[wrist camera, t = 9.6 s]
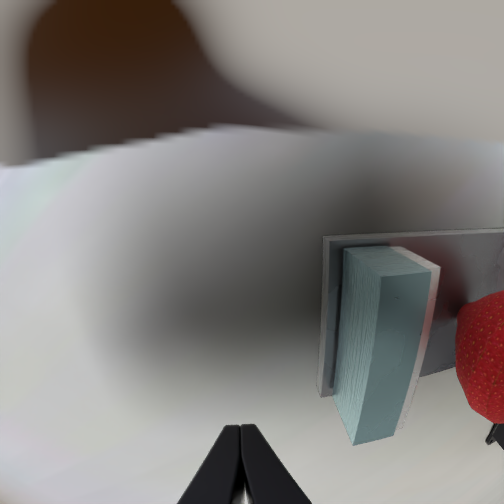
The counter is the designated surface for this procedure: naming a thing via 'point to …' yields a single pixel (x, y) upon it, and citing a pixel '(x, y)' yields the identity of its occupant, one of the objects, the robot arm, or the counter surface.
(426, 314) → the block
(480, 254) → the vise
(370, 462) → the counter surface
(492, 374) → the strawberry
